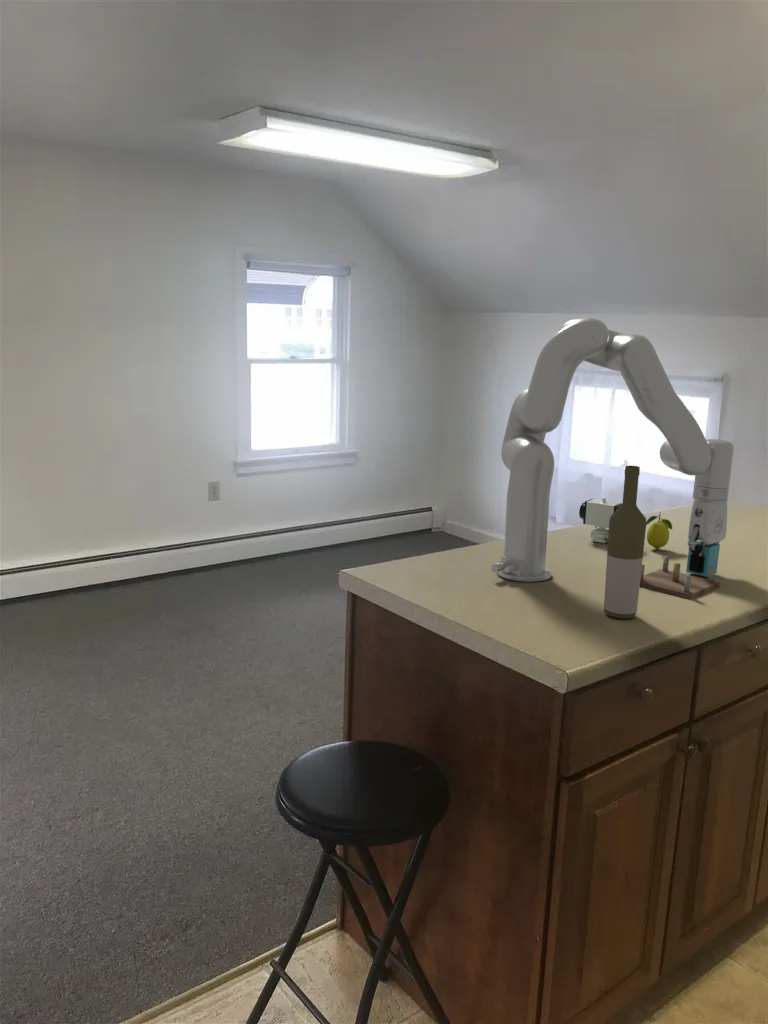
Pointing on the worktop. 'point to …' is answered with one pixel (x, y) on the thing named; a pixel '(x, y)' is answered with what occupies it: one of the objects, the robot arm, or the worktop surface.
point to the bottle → (625, 552)
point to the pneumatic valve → (598, 517)
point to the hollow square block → (707, 558)
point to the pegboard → (678, 581)
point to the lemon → (658, 532)
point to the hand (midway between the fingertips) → (701, 568)
